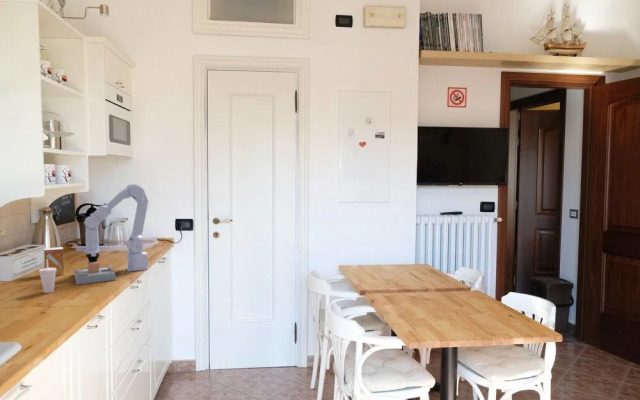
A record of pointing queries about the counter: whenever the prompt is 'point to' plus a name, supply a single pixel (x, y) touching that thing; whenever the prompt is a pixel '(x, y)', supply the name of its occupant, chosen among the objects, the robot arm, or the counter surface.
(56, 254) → the small box
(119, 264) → the counter surface
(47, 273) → the smoothie
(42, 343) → the counter surface
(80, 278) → the trap board
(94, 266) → the block
